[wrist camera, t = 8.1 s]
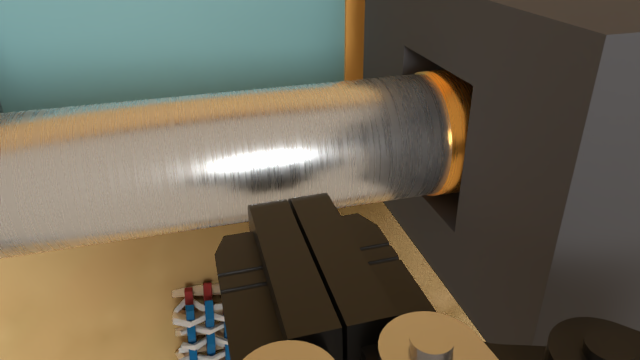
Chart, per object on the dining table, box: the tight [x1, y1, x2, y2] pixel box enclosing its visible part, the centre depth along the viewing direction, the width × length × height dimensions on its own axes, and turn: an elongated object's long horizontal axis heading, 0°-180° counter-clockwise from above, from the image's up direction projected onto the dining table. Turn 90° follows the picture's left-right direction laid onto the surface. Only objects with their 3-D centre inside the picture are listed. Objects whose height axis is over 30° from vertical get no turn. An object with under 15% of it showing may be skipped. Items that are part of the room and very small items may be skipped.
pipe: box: [0, 69, 473, 258], centre depth 15 cm, size 22×5×9 cm, turn 91°
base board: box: [0, 0, 365, 113], centre depth 19 cm, size 26×9×1 cm, turn 91°
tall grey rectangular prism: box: [363, 0, 640, 346], centre depth 13 cm, size 3×7×10 cm, turn 1°
